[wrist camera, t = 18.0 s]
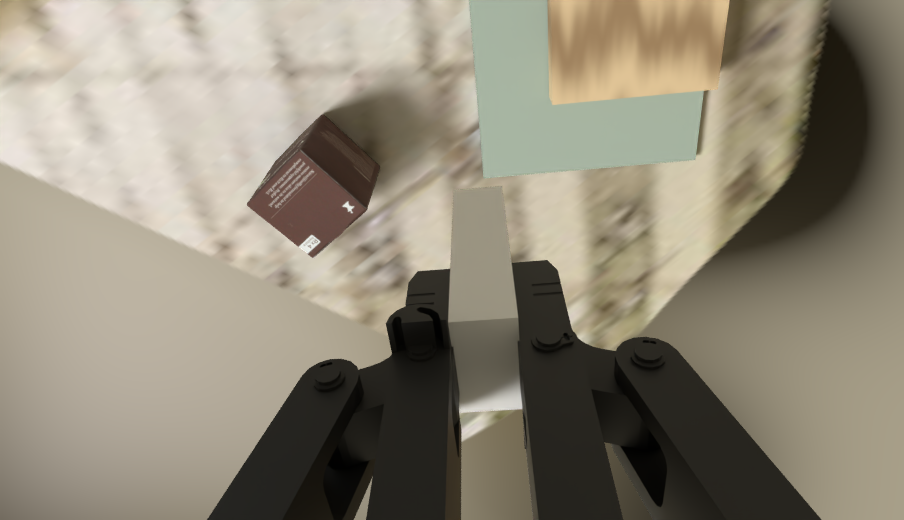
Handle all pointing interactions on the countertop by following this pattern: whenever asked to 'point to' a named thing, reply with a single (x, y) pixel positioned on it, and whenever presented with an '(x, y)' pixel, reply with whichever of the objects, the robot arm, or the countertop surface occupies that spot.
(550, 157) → the mat
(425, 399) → the robot arm
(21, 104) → the countertop surface
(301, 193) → the box
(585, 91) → the tile
